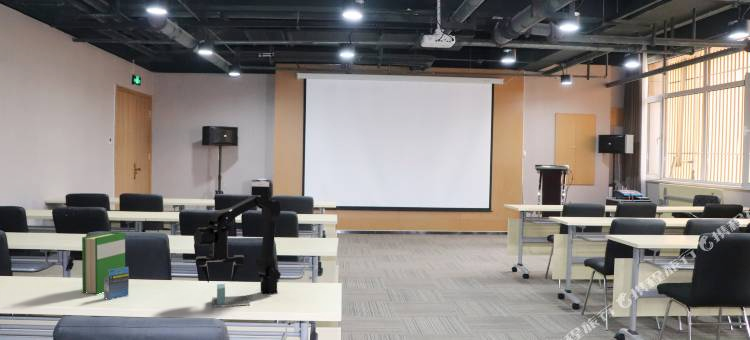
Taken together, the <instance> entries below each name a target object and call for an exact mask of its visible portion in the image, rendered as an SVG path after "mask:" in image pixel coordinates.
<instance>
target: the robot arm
mask: <svg viewBox="0 0 750 340" xmlns="http://www.w3.org/2000/svg"><path fill="white" fill-rule="evenodd" d="M254 208H258V209H261V216H262V218H263V222H264V223H263V231H262V232H263V234H262V243H261V252H260V253H261V254H260V255H259V257H256V258H255V265H254V268H255V271H256V272H257V274H258V276H259V277H258V278H261V281H260V292H261V294H263V295H267V294H271V295H272V294H278V293H279V292H278V280H280V278H281V276H282V273H281V272H280V271H279V270H278V269H277V268H276V266H277V264H276V259H275V257H274V246H275V245H274V244H275V234H276V223H277V220H279V217H280V216H281V211H282V204H281V203H280V201H278V200H271V199H268V198H265V197H263V196H261V195H258V194H256V195H255V194H254V195H251V196H250V197H248V198H246V199H244V200H242V201H240V202H238V203H237V204H234V205H233V206H231V207H227V208H225V209H220V210H215V211H214V212H213V213H211V215H210V219H209V221H208V222H207V223H206V225H205V226H204V227H196V231H195V232H194V235H193V241H194V244H195V245H196V246H197V247H198V246H199V247H200V246H207V245H211V244H212V246H210V247H209V253H208V254H209V256H212V257H210V258H209V257H208V258H207V256H205V255H203V256H202V255H200V256H196V257H195V266H196V267H198V268H200V269H202V271H203V273H204V275H205V277H206V281H207V283H210V276H209V269H208V264H215V263H216V264H218V263H219V264H220V263H232V272H231V282H234V278H235V276H236V272H237V270H238V268H239V267H242V265H244V264H245V256H244V255H243V254H237V255H236V254H234V255H233V257H232V256H231V257H229V255H228V254H229V252H228V251H229V246H228V245H229V242H228V241H229V239H228V237H229V235H228V234H229V232H233V231H234V230H233V228H232V227H230V224H232V223H233V222H234V220H235V219H236V218H237V217H238V216H240V215H242V214H245V213H246V212H248V211H251V210H252V209H254Z"/></svg>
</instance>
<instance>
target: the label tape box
mask: <svg viewBox="0 0 750 340" xmlns="http://www.w3.org/2000/svg"><path fill="white" fill-rule="evenodd" d="M117 271H122V272H120V273H116V272H117ZM129 272H130V271H129V266H125V267H124V268H118V269H111V270H109V276H108V277H106V278H104V293H103V294H104V295H103V298H104V299H105V298H107V299H106V300H108V299H110V300H113V299H112V298H115V299H118V298H117V297H119V298H123V296H124V297H128V296H129V285H130V283H129V280H130V279H129V278H130V277H129V276H130V275H129V274H130V273H129ZM127 295H128V296H127Z"/></svg>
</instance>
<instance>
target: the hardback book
mask: <svg viewBox="0 0 750 340" xmlns="http://www.w3.org/2000/svg"><path fill="white" fill-rule="evenodd" d="M81 242H82V244H81V245H82V246H81V247H82V248H81V251H82V252H81V253H82V254H81V255H82V256H81V257H82V260H81V261H82V264H81V265H82V266H81V267H82V294H83V293H86V292H89V293H91V294H93V293H94V294H95V295H96V294H99V293H102V292H104V278H106V277H108V276H109V270H111V269H118V268H124V267H126V232H123V231H107V232H102V233H98V234H93V235H87V236H83V237H81ZM120 272H122V271H117V272H116V273H120ZM86 294H87V293H86ZM102 294H103V293H102ZM99 295H100V294H99Z"/></svg>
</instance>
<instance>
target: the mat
mask: <svg viewBox="0 0 750 340" xmlns="http://www.w3.org/2000/svg"><path fill="white" fill-rule="evenodd" d="M246 305H248V306H250V305H251V304H250V300H249V295H248V294H244V295H243V294H242V295H229V296H226V295H225V304H217V296H214V297H212V308H213V307H215V308H223V307H222V306H232V307H243V306H244V307H246Z"/></svg>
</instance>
